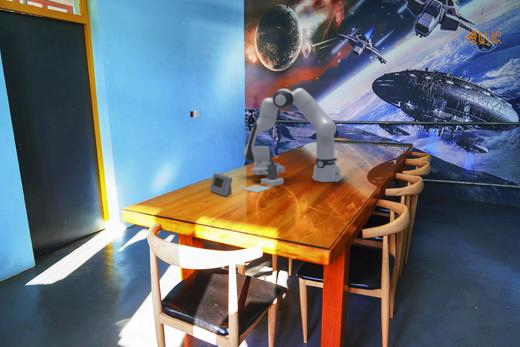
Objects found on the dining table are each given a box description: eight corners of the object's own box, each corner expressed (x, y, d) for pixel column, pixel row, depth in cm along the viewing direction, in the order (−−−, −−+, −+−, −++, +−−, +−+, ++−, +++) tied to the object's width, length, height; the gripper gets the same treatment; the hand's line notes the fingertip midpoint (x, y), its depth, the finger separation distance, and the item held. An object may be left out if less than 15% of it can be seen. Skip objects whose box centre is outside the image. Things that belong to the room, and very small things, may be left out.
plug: (271, 182, 223) (271, 159, 219) (276, 183, 220) (276, 159, 217) (267, 183, 220) (267, 159, 216) (272, 184, 217) (272, 160, 214)
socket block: (271, 180, 227) (271, 176, 226) (283, 183, 220) (283, 178, 220) (260, 183, 219) (260, 179, 219) (273, 186, 213) (273, 181, 212)
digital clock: (209, 191, 204) (208, 173, 202) (223, 189, 209) (222, 171, 206) (220, 198, 190) (219, 178, 188) (235, 195, 195) (234, 176, 192)
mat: (255, 185, 216) (255, 184, 216) (270, 188, 208) (270, 187, 208) (241, 189, 207) (241, 188, 207) (257, 192, 199) (257, 192, 199)
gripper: (250, 164, 227) (256, 169, 214) (280, 162, 233) (287, 166, 220) (250, 174, 228) (256, 179, 215) (280, 172, 234) (287, 176, 221)
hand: (272, 172), depth 217 cm, fingers closed on plug, 5 cm apart
